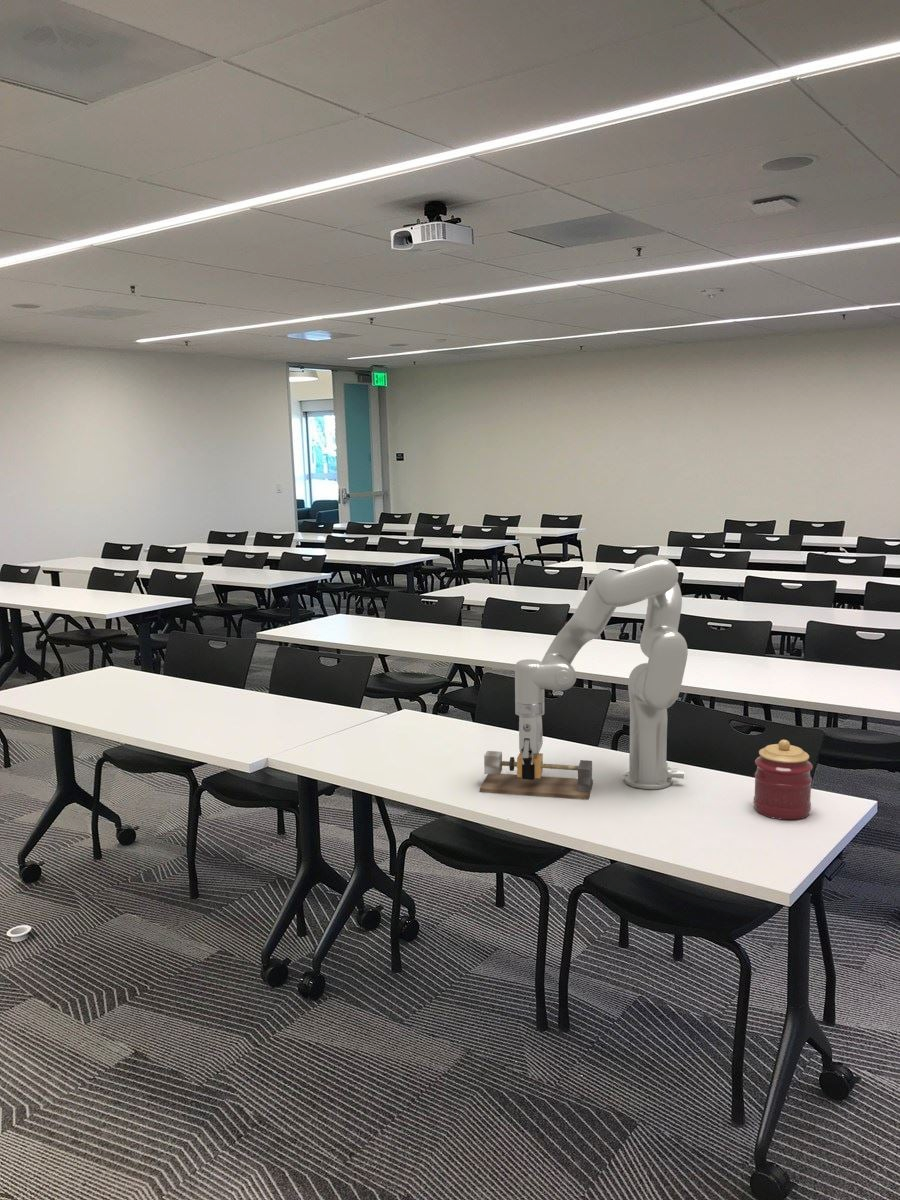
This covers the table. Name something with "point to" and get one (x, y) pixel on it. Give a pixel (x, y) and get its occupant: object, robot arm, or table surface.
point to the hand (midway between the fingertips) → (530, 774)
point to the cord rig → (536, 780)
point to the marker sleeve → (537, 761)
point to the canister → (783, 781)
